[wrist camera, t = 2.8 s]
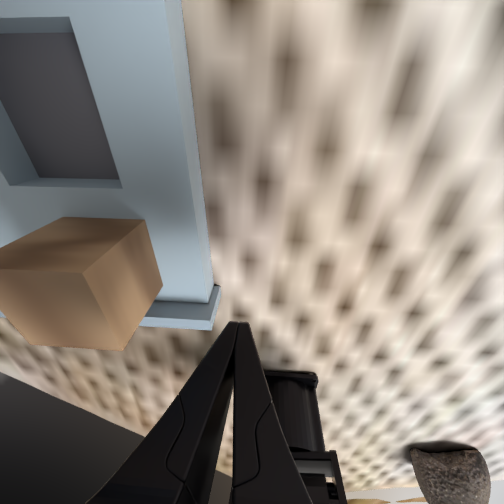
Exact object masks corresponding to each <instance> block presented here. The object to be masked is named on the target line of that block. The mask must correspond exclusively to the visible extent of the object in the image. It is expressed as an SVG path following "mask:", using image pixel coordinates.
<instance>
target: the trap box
mask: <svg viewBox="0 0 504 504" xmlns="http://www.w3.org/2000/svg"><path fill="white" fill-rule="evenodd" d="M61 217H85V218H113V219H142V220H145V222H146V225H147V229H148V232H149V236H150V239H151V243H152V247H153V250H154V254H155V257H156V261H157V265H158V268H159V272H160V275H161V279H162V282H163V287H162V289H161V290H160V292H159V293H158V295H157V297H156V298H155V300H154V301H153V303H152V305H151V306H150V308H149V310H148V311H147V313H146V314H145V316H144V318H143V319H142V321H141V322H140V324H139V326H150V327H166V328H182V329H197V330H212V327H213V323H214V320H215V316H216V312H217V308H218V305H219V301H220V297H221V290H220V286H214V281H213V272H212V264H211V255H210V246H209V238H208V229H207V221H206V212H205V203H204V195H203V186H202V177H201V169H200V160H199V151H198V143H197V134H196V126H195V117H194V108H193V100H192V91H191V82H190V74H189V65H188V56H187V48H186V39H185V31H184V22H183V13H182V5H181V0H0V248H1V247H3V246H5V245H7V244H9V243H11V242H13V241H15V240H17V239H19V238H21V237H23V236H25V235H27V234H29V233H31V232H33V231H35V230H37V229H39V228H41V227H43V226H45V225H47V224H49V223H51V222H53V221H55V220H57V219H59V218H61ZM0 317H6V316H5V315H4V314H3V313H2V312H1V311H0Z"/></svg>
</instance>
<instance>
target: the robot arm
mask: <svg viewBox="0 0 504 504" xmlns="http://www.w3.org/2000/svg"><path fill="white" fill-rule="evenodd" d="M317 384H318V376H316V375H309V374H296V373H282V372H268V371H263V368H262V365H261V361H260V358H259V355H258V352H257V348H256V345H255V342H254V338H253V335H252V332H251V328H250V325H249V323H248V322H237V321H230V322H229V323H228V324H227V325H226V327H225V328H224V330H223V331H222V332H221V334H220V335H219V337H218V338H217V340H216V341H215V342H214V344H213V345H212V347H211V348H210V350H209V351H208V352H207V354H206V355H205V357H204V358H203V360H202V361H201V362H200V364H199V365H198V367H197V368H196V369H195V371H194V372H193V374H192V375H191V377H190V378H189V379H188V381H187V382H186V384H185V385H184V387H183V388H182V389H181V391H180V392H179V395H177V396H176V398H175V399H174V401H173V402H172V403H171V405H170V406H169V408H168V409H167V410H166V412H165V413H164V414H163V416H162V417H161V418H160V420H159V421H158V422H157V423H156V425H155V426H154V427H153V428H152V430H151V431H150V432H149V433H148V434H147V436H146V437H145V438H144V439H143V441H142V442H141V443H140V444H139V445H138V446H137V448H136V449H135V450H134V451H133V452H132V453H131V455H130V456H129V457H128V458H127V459H126V460H125V462H124V463H123V464H122V465H121V466H120V468H119V469H118V470H117V471H116V472H115V473H114V475H113V476H112V477H111V478H110V479H109V481H107V483H106V484H105V485H104V486H103V487H102V488H101V489H100V490H99V491H98V492H97V493H96V494H95V495H94V496H93V497H92V498H91V499H89V500H88V501H87V502H86V503H85V504H208V501H209V495H210V492H211V487H212V482H213V478H214V473H215V468H216V464H217V459H218V455H219V450H220V445H221V441H222V436H223V431H224V427H225V422H226V417H227V413H228V408H229V404H230V399H231V394H232V390H233V385H234V401H233V477H232V488H231V493H230V499H229V504H347V500H346V495H345V491H344V486H343V481H342V477H341V472H340V468H339V463H338V458H337V454H336V450H329V452H328V451H325V445H324V439H323V433H322V427H321V421H320V414H319V408H318V402H317V396H316V388H317ZM325 477H332V481H333V482H326V478H325Z"/></svg>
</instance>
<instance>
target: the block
mask: <svg viewBox="0 0 504 504" xmlns="http://www.w3.org/2000/svg"><path fill="white" fill-rule="evenodd" d="M162 287H163V282H162V279H161V275H160V272H159V268H158V265H157V261H156V257H155V254H154V250H153V247H152V243H151V239H150V236H149V232H148V229H147V225H146V222H145V220H142V219H113V218H85V217H61V218H59V219H57V220H55V221H53V222H51V223H49V224H47V225H45V226H43V227H41V228H39V229H37V230H35V231H33V232H31V233H29V234H27V235H25V236H23V237H21V238H19V239H17V240H15V241H13V242H11V243H9V244H7V245H5V246H3V247H1V248H0V311H1V312H2V313H3V314H4V315H5V316H6V318H7V319H8V320H9V321H10V322H11V323H12V324H13V326H14V327H15V328H16V329H17V330H18V331H19V332H20V334H21V335H22V336H23V337H24V338H25V339H26V340H27V342H28V343H29V344H30V345H44V346H58V347H73V348H87V349H101V350H115V351H123V350H124V348H125V347H126V345H127V343H128V342H129V340H130V339H131V337H132V335H133V334H134V332H135V330H136V329H137V327H138V326H139V324H140V322H141V321H142V319H143V318H144V316H145V314H146V313H147V311H148V310H149V308H150V306H151V305H152V303H153V301H154V300H155V298H156V297H157V295H158V293H159V292H160V290H161V289H162Z"/></svg>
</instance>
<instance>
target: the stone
mask: <svg viewBox="0 0 504 504" xmlns="http://www.w3.org/2000/svg"><path fill="white" fill-rule="evenodd" d="M410 455H411V458H412V465H413V468H414V472H415V475H416V478H417V481H418V484H419V486H420V489H421V491H422V493H423V494H424V497H425V499H426V500H427V502H428V503H429V504H488V502H489V498H490V488H491V482H490V475H489V471H488V468H487V464H486V462H485V460H484V458H483V456H482V455H481V453H480V452H479V451H478V450H462V451H458V452H449V453H426V452H422V451H420V450H419V449H417V448H414V449H411V450H410Z"/></svg>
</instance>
